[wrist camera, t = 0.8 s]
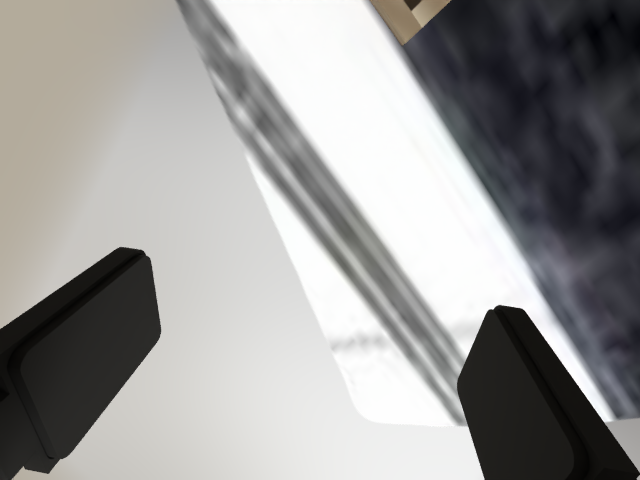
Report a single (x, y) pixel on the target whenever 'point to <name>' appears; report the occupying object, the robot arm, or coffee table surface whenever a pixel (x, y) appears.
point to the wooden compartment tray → (407, 15)
